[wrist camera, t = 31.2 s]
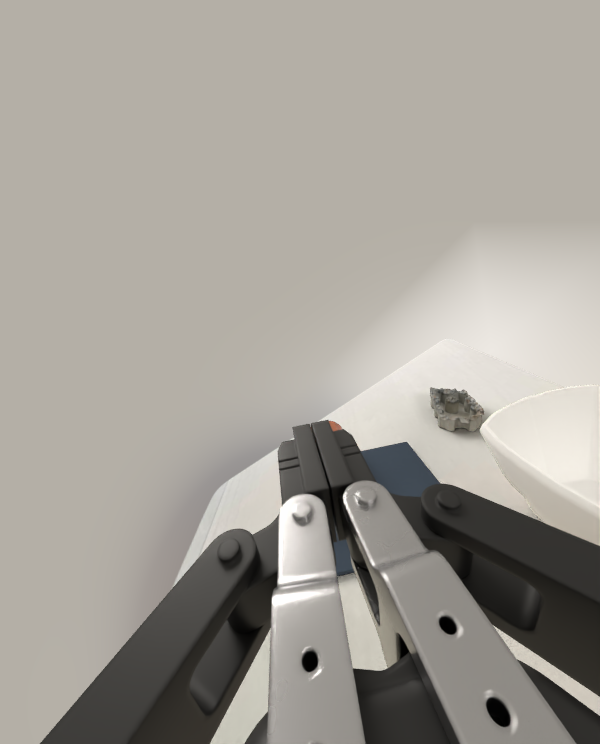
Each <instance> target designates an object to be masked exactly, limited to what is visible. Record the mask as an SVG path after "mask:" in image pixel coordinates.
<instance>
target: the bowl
mask: <svg viewBox="0 0 600 744" xmlns="http://www.w3.org/2000/svg"><path fill="white" fill-rule="evenodd" d="M480 433H481V435H482V437H483V438H484V440H485V442H486V444H487V446H488V448H489V449H490V451H491V453H492V455H493V457H494V458H495V460H496V462H497V464H498V466H499V468H500V469H501V471H502V473H503V474H504V476H505V477H506V478H507V480H508V481H509V482H510V483H511V485H512V486H513V487H515V488H516V489H517V490H518V491H519V492H520V493H521V494H522V495H523V496H524V497H525V499H526V501H527V503H528V504H529V506H530V508H531V509H532V511H533V512H534V513H535V514H536V515H537V516H538V517H539V518H540V519H541V520H542V521H543V522H544V523H545V524H548V525H550V526H553V527H555V528H557V529H560V530H562V531H565V532H567V533H570V534H572V535H574V536H577V537H579V538H582V539H584V540H586V541H589V542H591V543H594V544H596V545H599V546H600V385H583V386H572V387H565V388H560V389H555V390H550V391H546V392H542V393H539V394H535V395H532V396H528V397H525V398H523V399H520V400H518V401H516V402H513V403H511V404H509V405H506V406H505V407H503V408H501V409H500V410H498V411H496V412H494V413H493V414H492V415H490V417H489V418H488V419H487V420H486V421H485V422H484V423H483V424H482V425H481V428H480Z"/></svg>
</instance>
